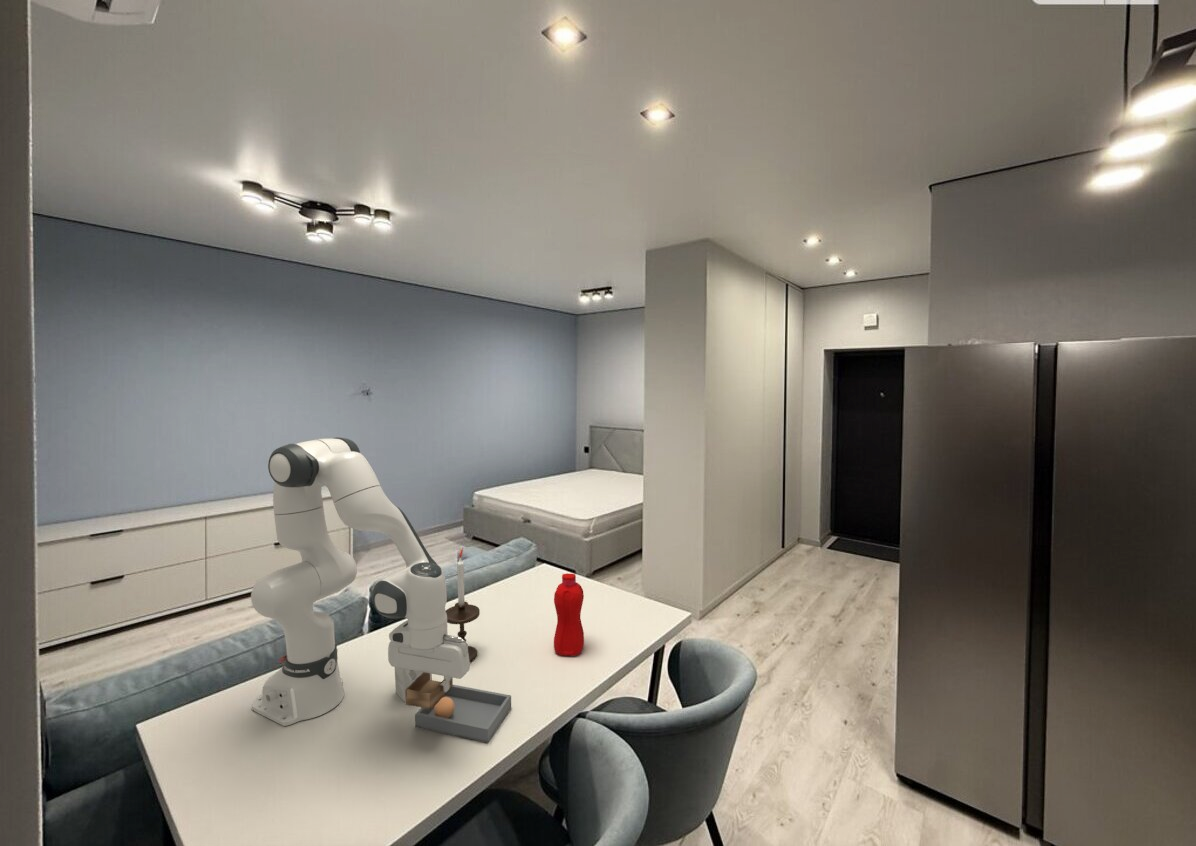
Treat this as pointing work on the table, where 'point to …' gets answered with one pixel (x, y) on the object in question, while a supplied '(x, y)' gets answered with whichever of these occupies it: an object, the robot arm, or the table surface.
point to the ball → (444, 707)
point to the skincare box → (403, 681)
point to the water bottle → (568, 617)
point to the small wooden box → (425, 692)
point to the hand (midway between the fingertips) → (429, 687)
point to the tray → (468, 714)
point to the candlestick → (463, 610)
